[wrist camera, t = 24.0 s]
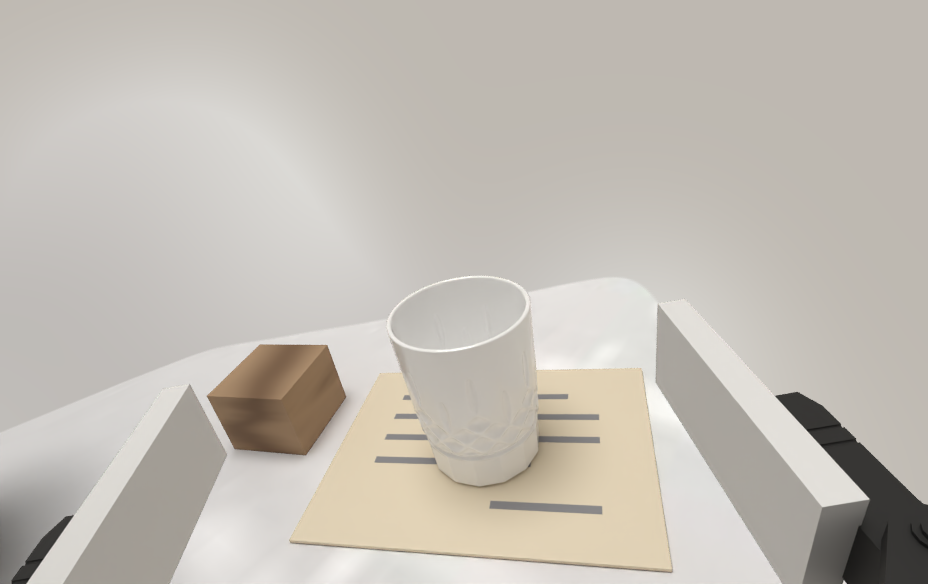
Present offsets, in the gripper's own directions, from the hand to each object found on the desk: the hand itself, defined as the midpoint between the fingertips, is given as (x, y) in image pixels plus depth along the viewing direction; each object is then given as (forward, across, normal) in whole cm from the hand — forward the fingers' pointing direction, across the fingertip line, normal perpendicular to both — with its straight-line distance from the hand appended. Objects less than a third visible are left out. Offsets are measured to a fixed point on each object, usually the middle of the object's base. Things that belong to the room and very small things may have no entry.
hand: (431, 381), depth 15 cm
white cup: (+12, -1, +15) cm, 19 cm away
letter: (+12, -1, +15) cm, 20 cm away
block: (+18, +13, +16) cm, 28 cm away
